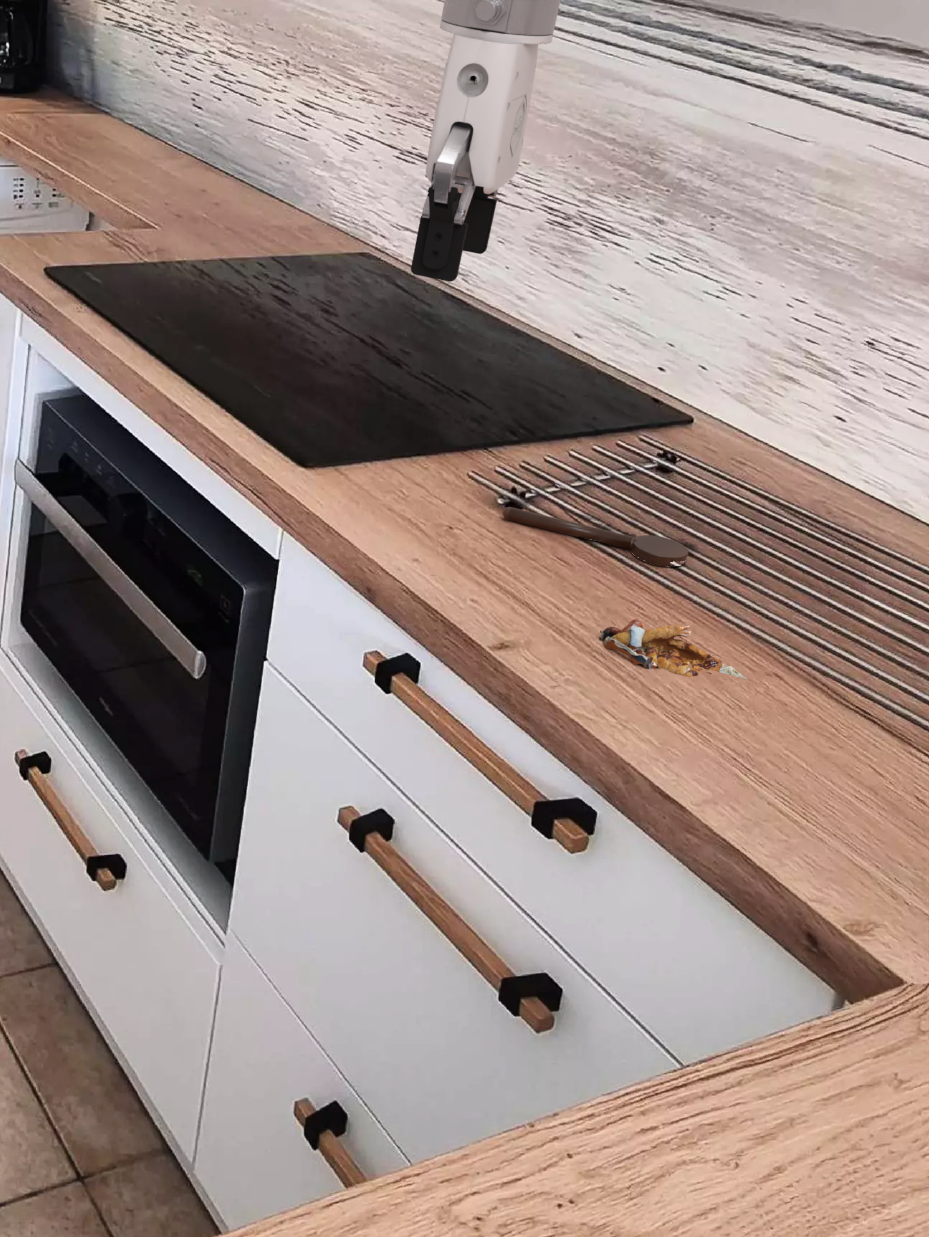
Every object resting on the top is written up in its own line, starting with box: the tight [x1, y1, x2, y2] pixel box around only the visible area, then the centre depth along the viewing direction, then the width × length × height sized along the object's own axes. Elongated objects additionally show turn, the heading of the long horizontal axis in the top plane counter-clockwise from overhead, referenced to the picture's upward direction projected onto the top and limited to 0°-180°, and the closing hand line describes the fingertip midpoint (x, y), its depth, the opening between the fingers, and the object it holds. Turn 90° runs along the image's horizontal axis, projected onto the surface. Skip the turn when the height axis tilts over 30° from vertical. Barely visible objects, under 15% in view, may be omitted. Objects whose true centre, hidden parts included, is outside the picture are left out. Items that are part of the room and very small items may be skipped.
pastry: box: [598, 618, 748, 681], centre depth 129 cm, size 7×12×4 cm, turn 73°
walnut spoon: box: [502, 506, 689, 567], centre depth 152 cm, size 16×5×1 cm, turn 66°
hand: (449, 263), depth 122 cm, fingers open, 9 cm apart
